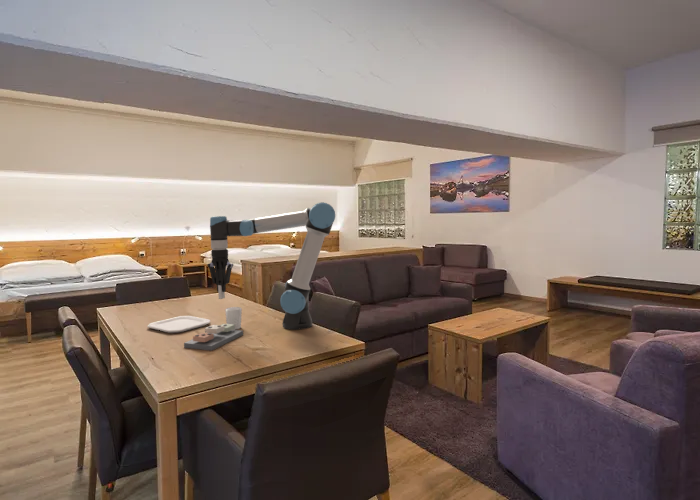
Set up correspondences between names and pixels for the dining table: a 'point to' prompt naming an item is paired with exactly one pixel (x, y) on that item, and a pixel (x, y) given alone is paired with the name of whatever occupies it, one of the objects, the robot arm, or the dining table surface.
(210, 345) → the board
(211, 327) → the tile two
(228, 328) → the tile one
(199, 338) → the tile three
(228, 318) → the white cup
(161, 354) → the dining table surface
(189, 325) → the plate
